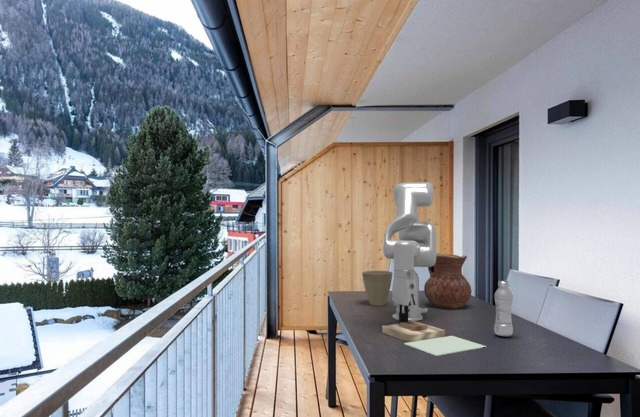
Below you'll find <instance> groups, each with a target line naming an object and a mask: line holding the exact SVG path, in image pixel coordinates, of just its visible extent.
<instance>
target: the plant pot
mask: <svg viewBox="0 0 640 417" xmlns="http://www.w3.org/2000/svg"><path fill="white" fill-rule="evenodd" d="M361 274H362V275H361V276H362V281H363V287H364V290H365V294H366V297H367V301H368V302H369V305H370V306H373V307H384V306H386V305H387V304H386V303H387V300H388V297H389V295H390V294H389V293H390V290H391V286H392V282H393V280H392V279H393V274H394V271H390V270H366V271H365V270H364V271H362V272H361Z"/></svg>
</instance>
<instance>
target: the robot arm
mask: <svg viewBox="0 0 640 417" xmlns="http://www.w3.org/2000/svg"><path fill="white" fill-rule="evenodd" d="M393 199H394V202H395V205H396V212H395V213H396V215H395V219H394V220H392V221H391V222H390V223H389V225H388V226H387V227H386V230H385V231H384V234H383V243H382V244H383V246H382V252H383V255H384V257H385V258H386V259H387V260H388V259H389V260H393V277H392V279H393V280H392V284H391V286H392V287H391V300H392V303H393V305H394V306H395V308H396V309H395V313H393V314H392V319H393V320H395V321H396V320H397V321H398V324H400V323H402V322H409V321H415V322H419V321H423V319H424V318H423V315H422V314H425V313H428V311H429V310H428V308H427V307H423V308H421V307H420V277H419V274H418V273H417V271H415V268H418V267H419V268H428V267H432V266H434V265H435V263H436V254H437V231H436V230H437V229H436V226H435V224H434V223H432V221H431V222H430V221H419V219H420V218H419V217H420V216H419V212H418V207H422V208H423V207H431V206H432V205H433V204H432V203H433V200H434V187H433V184H432V183H431V182H400V183H398V184H396V185H394V187H393ZM397 233H398V239H392V237H393V236H394V235H395V234H397Z"/></svg>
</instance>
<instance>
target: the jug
mask: <svg viewBox="0 0 640 417" xmlns="http://www.w3.org/2000/svg"><path fill="white" fill-rule="evenodd" d="M467 258H468V257H467V255H456V254H450V253H449V254H448V253H436V263H435V265H434V266H432V267H427V270H428V273H429V278H428V279H427V280H426V281H425V284H424V288H423V290H424V291H423V292H424V295H425V297H426V300H427V301H428V302H429V303H430V304H431V305H432V306H433V307H436V308H441V309H460V308H463V307H464V306H465V305H466V304H467V303H468V302H469V300H470V299H471V297H472V287H471V284H470V282H469V281H468V280H467V278H466V277H465V276H464V275H463V271H462V270H463V266H464V263H465V261H466V260H467Z"/></svg>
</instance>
